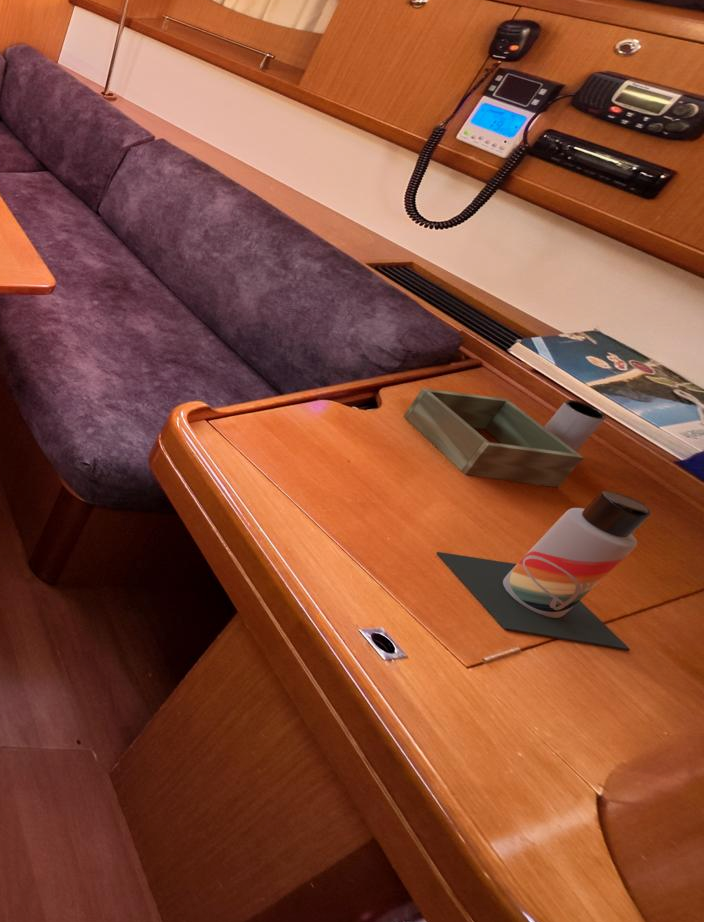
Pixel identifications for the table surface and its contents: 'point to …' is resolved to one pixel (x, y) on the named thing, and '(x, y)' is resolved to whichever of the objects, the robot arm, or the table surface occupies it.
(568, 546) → the striped water bottle
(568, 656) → the table surface
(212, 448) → the table surface
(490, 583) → the mat
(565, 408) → the planter
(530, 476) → the basket
